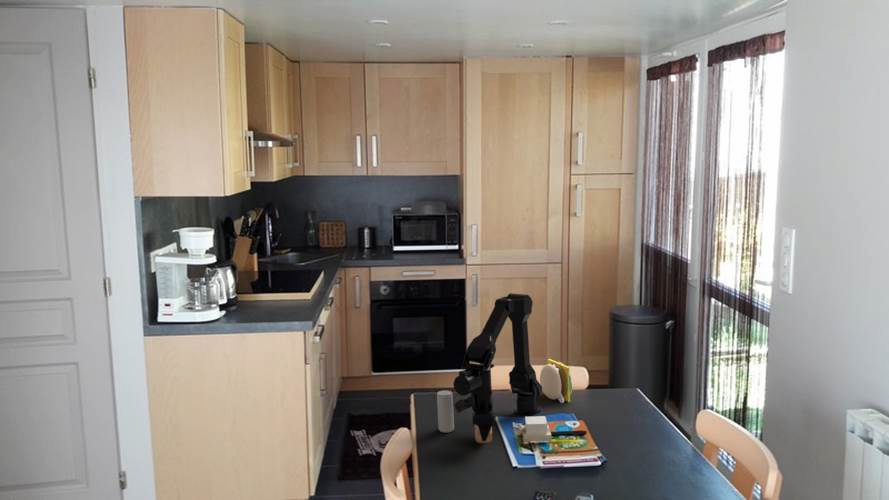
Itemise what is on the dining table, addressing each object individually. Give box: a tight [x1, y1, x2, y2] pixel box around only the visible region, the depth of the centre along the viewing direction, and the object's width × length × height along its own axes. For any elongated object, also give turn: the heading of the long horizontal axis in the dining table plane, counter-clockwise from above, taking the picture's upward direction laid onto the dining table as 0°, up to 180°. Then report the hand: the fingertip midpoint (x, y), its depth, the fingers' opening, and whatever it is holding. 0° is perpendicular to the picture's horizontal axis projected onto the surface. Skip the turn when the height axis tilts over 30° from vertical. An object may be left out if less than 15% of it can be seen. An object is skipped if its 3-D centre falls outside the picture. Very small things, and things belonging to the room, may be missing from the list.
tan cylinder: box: [474, 425, 493, 444], centre depth 209 cm, size 5×5×5 cm
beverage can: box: [436, 389, 455, 434], centre depth 218 cm, size 5×5×12 cm
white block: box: [524, 415, 548, 434], centre depth 209 cm, size 6×6×3 cm
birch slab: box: [520, 424, 552, 443], centre depth 209 cm, size 8×8×3 cm
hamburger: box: [539, 358, 573, 404], centre depth 242 cm, size 12×8×12 cm
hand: (483, 436), depth 209 cm, fingers open, 6 cm apart
